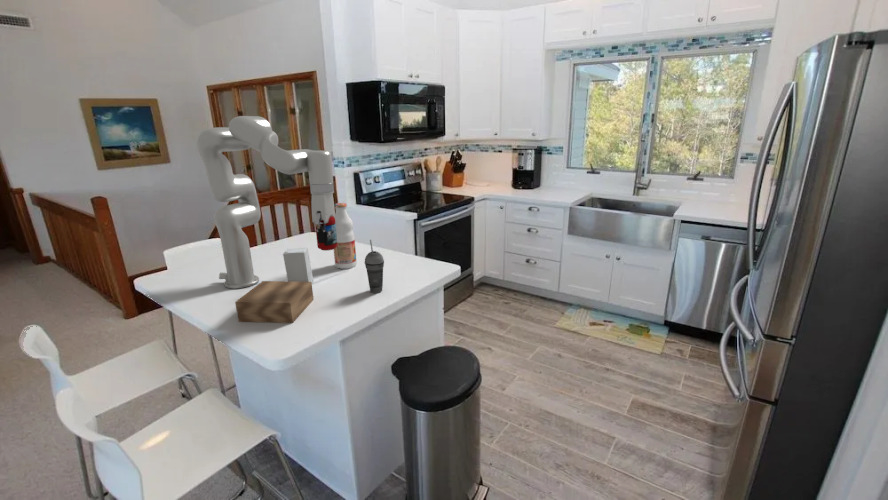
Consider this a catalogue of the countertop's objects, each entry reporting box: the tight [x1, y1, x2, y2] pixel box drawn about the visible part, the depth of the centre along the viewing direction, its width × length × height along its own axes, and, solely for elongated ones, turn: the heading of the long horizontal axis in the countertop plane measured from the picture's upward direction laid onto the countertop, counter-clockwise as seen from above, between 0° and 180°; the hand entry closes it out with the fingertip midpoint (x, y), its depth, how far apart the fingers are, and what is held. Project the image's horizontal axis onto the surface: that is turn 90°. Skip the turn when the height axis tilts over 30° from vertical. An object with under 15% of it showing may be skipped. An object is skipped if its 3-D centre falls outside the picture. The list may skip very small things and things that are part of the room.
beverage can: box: [315, 214, 337, 251], centre depth 142 cm, size 7×7×12 cm
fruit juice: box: [333, 202, 357, 270], centre depth 180 cm, size 9×9×28 cm
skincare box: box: [282, 247, 314, 285], centre depth 159 cm, size 8×6×15 cm
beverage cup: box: [364, 239, 385, 294], centre depth 153 cm, size 7×7×20 cm
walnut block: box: [235, 280, 315, 324], centre depth 140 cm, size 18×18×7 cm
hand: (326, 239), depth 142 cm, fingers closed on beverage can, 6 cm apart
